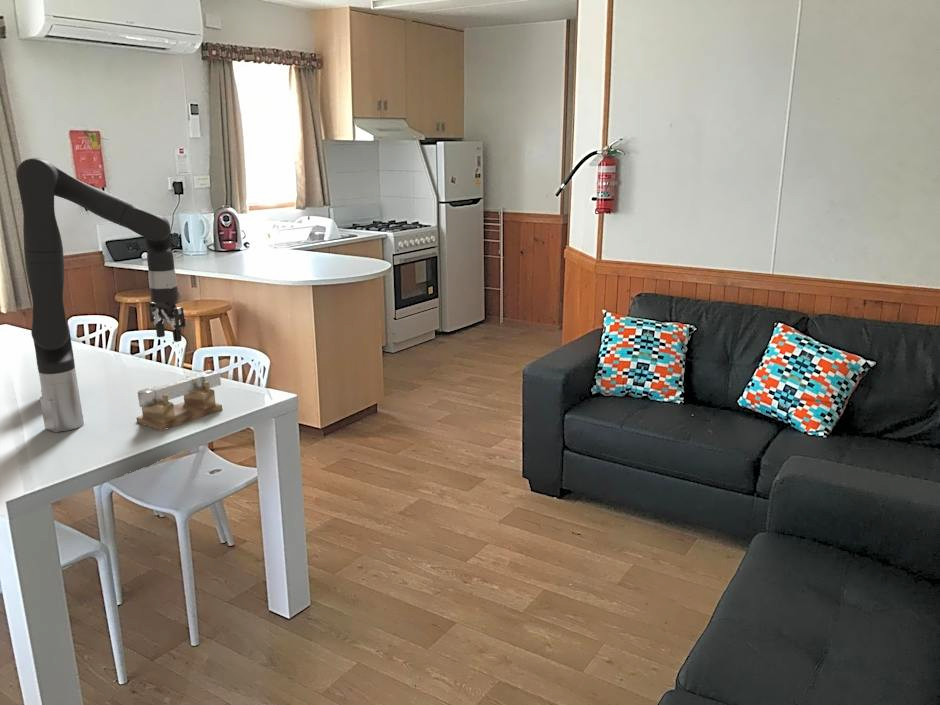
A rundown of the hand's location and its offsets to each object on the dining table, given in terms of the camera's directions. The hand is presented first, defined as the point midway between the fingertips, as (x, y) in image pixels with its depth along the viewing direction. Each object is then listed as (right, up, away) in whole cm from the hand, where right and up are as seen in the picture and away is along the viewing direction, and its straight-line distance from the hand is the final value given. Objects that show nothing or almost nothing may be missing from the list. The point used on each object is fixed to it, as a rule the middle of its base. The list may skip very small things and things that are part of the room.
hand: (169, 339), depth 223 cm
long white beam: (+2, -17, +2) cm, 17 cm away
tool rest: (+2, -23, +3) cm, 23 cm away
